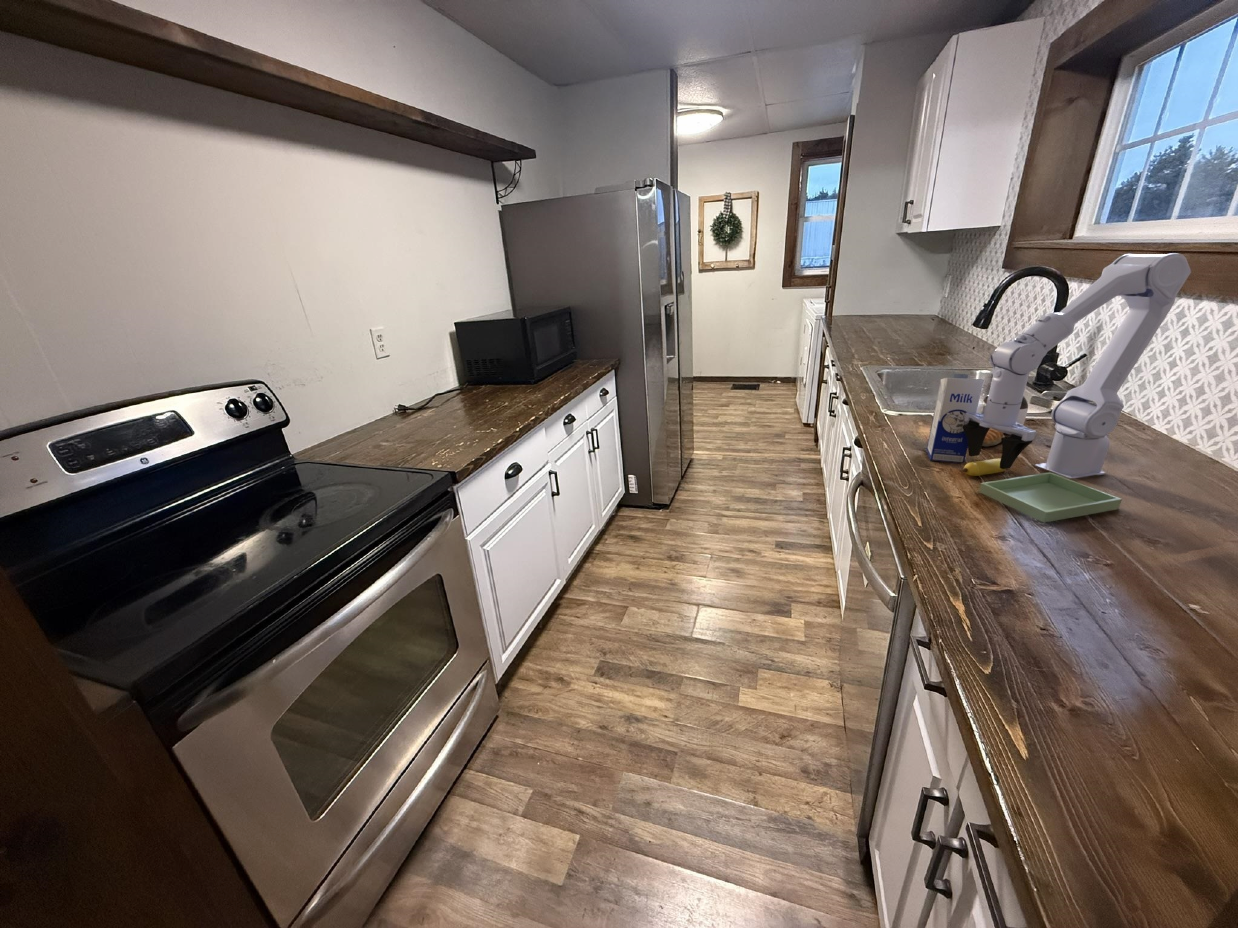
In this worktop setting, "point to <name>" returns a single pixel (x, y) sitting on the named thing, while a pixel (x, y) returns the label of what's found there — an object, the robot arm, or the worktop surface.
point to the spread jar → (1022, 410)
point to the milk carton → (953, 418)
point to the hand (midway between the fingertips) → (988, 461)
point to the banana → (983, 467)
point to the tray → (1049, 496)
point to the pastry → (992, 437)
